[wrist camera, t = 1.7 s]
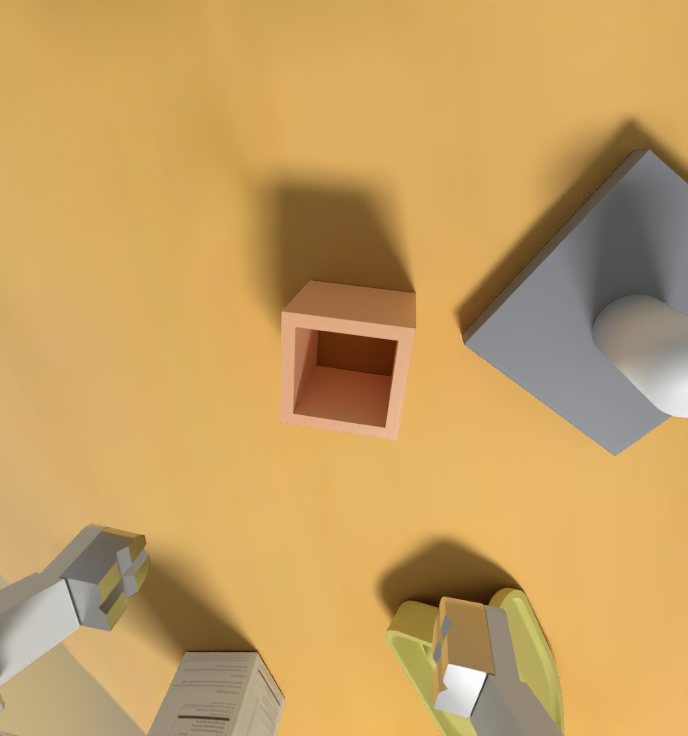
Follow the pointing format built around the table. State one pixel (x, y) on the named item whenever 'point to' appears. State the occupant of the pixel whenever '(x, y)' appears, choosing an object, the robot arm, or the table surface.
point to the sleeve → (338, 386)
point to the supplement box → (220, 697)
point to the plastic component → (531, 650)
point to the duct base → (603, 310)
